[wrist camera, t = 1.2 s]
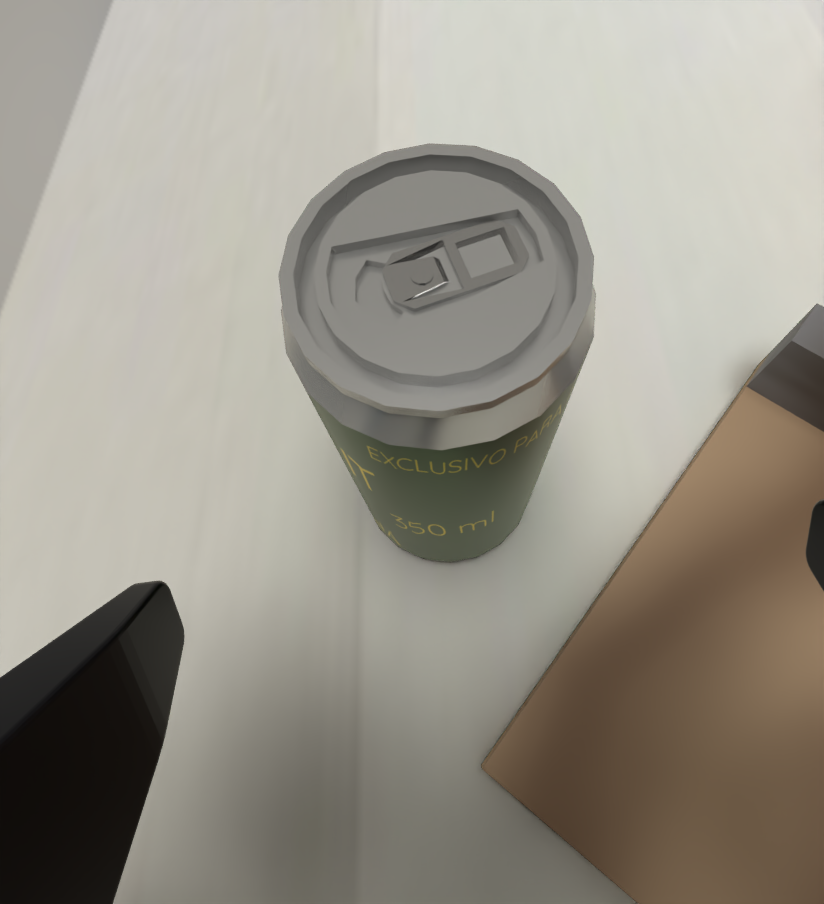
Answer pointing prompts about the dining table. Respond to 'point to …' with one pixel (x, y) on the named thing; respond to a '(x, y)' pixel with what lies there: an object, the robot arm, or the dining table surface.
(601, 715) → the shelf board
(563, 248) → the beer can
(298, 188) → the dining table surface
